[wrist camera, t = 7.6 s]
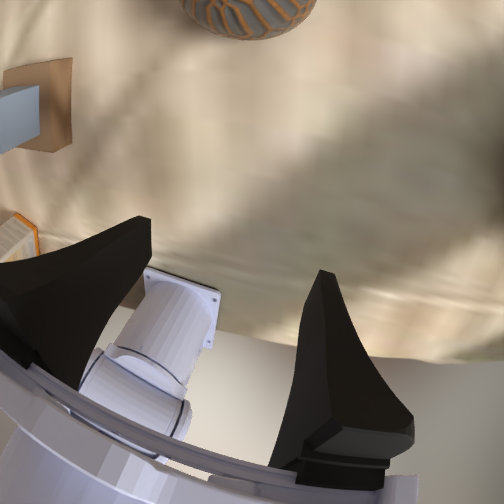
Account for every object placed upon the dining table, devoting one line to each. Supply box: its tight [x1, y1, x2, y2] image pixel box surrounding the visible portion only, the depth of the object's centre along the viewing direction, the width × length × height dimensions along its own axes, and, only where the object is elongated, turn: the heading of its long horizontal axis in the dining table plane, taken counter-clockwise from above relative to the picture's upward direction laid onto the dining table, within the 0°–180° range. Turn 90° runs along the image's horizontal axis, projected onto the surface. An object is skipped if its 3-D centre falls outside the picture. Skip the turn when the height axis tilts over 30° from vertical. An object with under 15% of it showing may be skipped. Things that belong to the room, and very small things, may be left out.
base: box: [3, 58, 72, 153], centre depth 19 cm, size 8×8×3 cm
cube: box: [0, 85, 40, 154], centre depth 16 cm, size 4×4×4 cm
